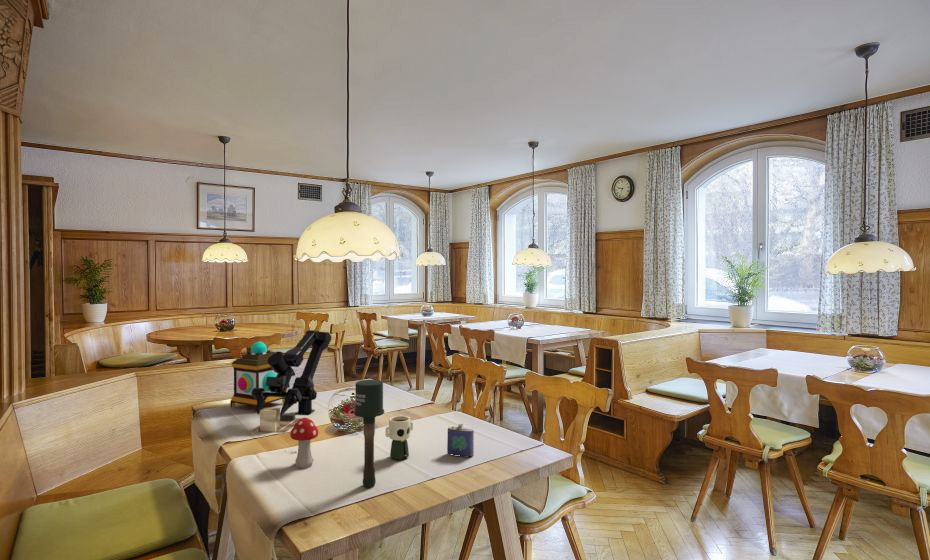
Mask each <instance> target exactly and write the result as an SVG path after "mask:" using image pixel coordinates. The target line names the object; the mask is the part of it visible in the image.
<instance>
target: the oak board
mask: <svg viewBox="0 0 930 560" xmlns="http://www.w3.org/2000/svg"><path fill="white" fill-rule="evenodd" d="M301 418H302V417H300V418H299V417H298V418H297V417H296V414H295V413H284V414H282V415H280V428H281V429H279V430H277V431H276V432H274V433H278V434H279V433H280V434H284V433H287V432H288V431H289V430H292V429H293V427H294V425H295V423H296V422H297V421H298V420H299V419H301ZM248 432H250V433H263V432H262V431H260V424H259V425H257V426H256V427H254V428H253V429H251V430H249V431H248Z"/></svg>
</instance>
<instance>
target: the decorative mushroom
mask: <svg viewBox="0 0 930 560" xmlns="http://www.w3.org/2000/svg"><path fill="white" fill-rule="evenodd" d="M300 418H301V419H299V420H298V421H297V422H296V423H295V425H294V427H292V428H291V429H290V433H289V435H290V438H291V439H292V440H295V441H298V444H297V445H298V447H297V448H298V449H297V455H296V457H295V461H294V462H295V465H296V467H297V468H298V469H308V467H309V468H311V467H312V466H313V462H314V458H313V456H312V450H311V440H313V439H316V438H317V437H319V436H318V435H319V430H318V427H317V426H316V425H315V423H314V421H313V419H311V418H308V417H300Z"/></svg>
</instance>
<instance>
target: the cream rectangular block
mask: <svg viewBox="0 0 930 560" xmlns="http://www.w3.org/2000/svg"><path fill="white" fill-rule="evenodd" d="M280 412H281V407H263V408H262V410H260V413H259V425H260V431H262V432H261V433H275V432H276V431H277V430H279V429H281V428H280Z"/></svg>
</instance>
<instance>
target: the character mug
mask: <svg viewBox="0 0 930 560" xmlns="http://www.w3.org/2000/svg"><path fill="white" fill-rule="evenodd" d="M413 430H414V422H413V420H411V417H410V416H406V415H396V416H392V417H391V416H390V418H388V426H386V427H385V437H386V438H389V439H390V440H391V445H390V452H389V457H391V458H392V459H394V460H404V459H405V458H409V456H410V451H409V444H408V439H409V438H410V436H411V431H413Z"/></svg>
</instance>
